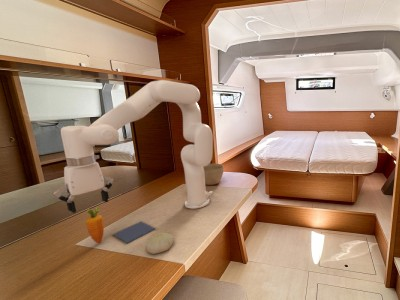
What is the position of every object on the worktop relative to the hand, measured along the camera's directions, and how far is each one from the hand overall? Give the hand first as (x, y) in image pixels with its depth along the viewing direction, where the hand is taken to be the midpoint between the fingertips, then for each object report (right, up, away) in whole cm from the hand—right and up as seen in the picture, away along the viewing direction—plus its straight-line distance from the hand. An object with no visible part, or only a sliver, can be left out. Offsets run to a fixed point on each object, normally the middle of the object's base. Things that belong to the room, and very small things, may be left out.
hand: (90, 206), depth 79 cm
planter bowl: (+27, -1, +65) cm, 71 cm away
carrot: (0, -15, +4) cm, 16 cm away
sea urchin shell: (+25, -16, +1) cm, 30 cm away
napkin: (+10, -14, +11) cm, 20 cm away
